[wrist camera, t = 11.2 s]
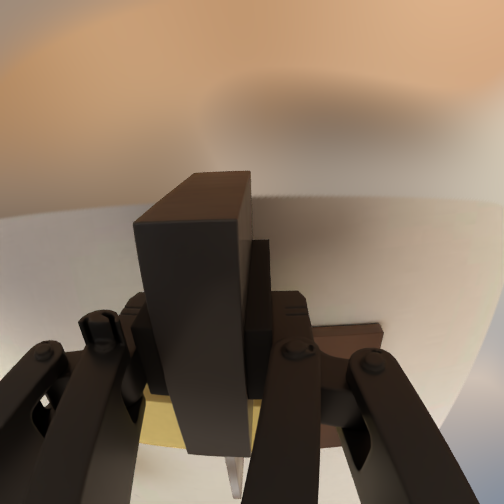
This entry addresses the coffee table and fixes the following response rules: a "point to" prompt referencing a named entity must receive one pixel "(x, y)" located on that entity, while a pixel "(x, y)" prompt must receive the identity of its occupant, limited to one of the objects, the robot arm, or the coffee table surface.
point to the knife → (202, 309)
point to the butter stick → (160, 422)
